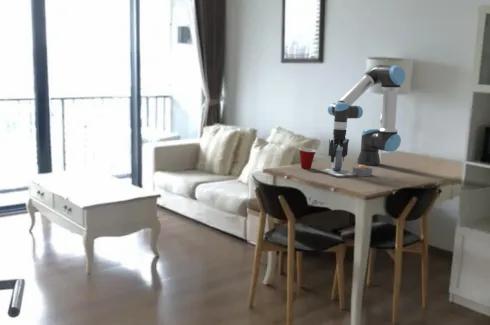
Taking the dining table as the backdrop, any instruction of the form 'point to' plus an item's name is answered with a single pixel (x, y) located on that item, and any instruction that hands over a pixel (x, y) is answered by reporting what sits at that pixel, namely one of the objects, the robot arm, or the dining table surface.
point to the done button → (362, 166)
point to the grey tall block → (338, 159)
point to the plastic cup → (306, 157)
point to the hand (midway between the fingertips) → (336, 167)
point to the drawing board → (337, 173)
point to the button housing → (362, 171)
